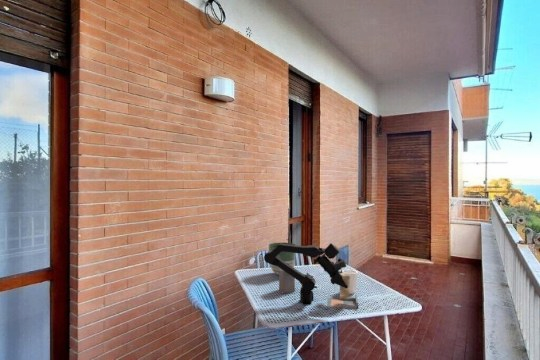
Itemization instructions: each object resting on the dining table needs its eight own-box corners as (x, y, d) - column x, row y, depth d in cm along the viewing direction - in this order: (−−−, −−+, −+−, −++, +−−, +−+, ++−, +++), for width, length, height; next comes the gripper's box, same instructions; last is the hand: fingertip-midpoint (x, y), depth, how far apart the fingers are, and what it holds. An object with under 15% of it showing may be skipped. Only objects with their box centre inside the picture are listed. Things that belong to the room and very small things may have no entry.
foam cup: (347, 289, 198) (347, 268, 198) (360, 293, 191) (360, 271, 192) (338, 293, 191) (338, 271, 192) (352, 297, 185) (352, 274, 185)
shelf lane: (327, 308, 169) (326, 300, 169) (327, 300, 180) (327, 293, 181) (358, 310, 165) (358, 302, 165) (357, 302, 177) (357, 294, 177)
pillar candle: (284, 287, 204) (284, 263, 204) (297, 290, 198) (297, 265, 198) (276, 291, 196) (275, 267, 196) (289, 294, 190) (289, 269, 190)
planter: (270, 270, 243) (270, 242, 243) (296, 271, 240) (296, 242, 241) (267, 277, 224) (266, 247, 224) (294, 278, 221) (294, 247, 221)
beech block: (339, 298, 171) (340, 275, 171) (339, 294, 176) (339, 273, 176) (349, 298, 170) (349, 276, 170) (349, 295, 175) (349, 273, 175)
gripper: (337, 258, 165) (359, 281, 162) (337, 251, 183) (357, 271, 180) (321, 272, 166) (343, 295, 164) (323, 264, 185) (342, 284, 182)
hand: (347, 286), depth 172 cm, fingers closed on beech block, 5 cm apart
